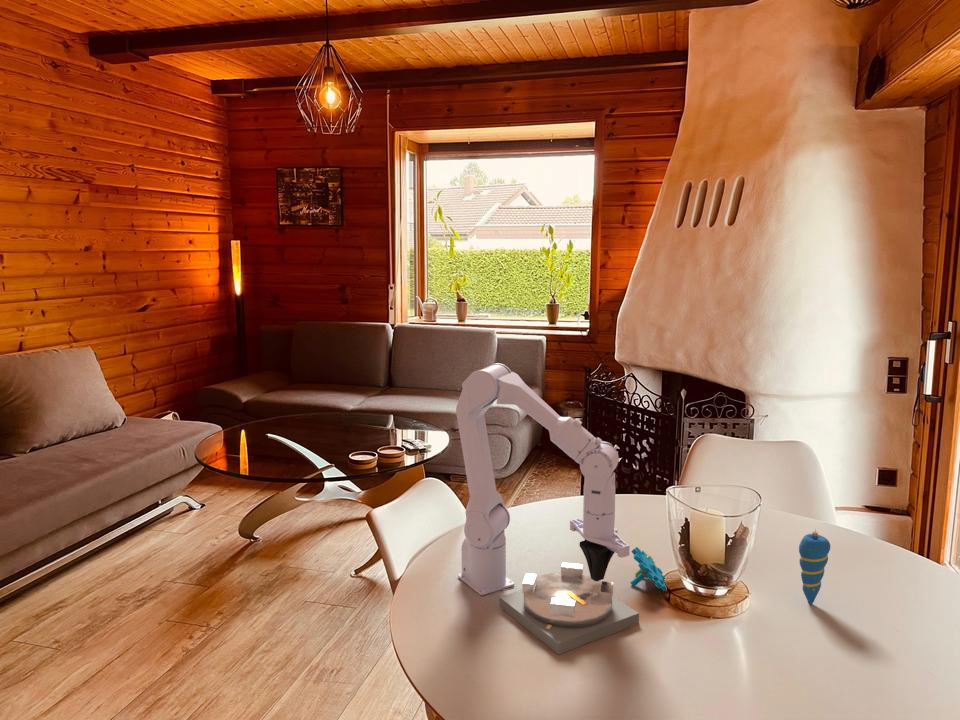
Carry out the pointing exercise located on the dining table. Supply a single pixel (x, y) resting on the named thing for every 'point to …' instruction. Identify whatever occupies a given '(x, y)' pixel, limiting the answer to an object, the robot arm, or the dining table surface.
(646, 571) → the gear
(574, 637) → the base plate
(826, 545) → the ornament
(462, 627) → the dining table surface
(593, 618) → the lugged metal disc
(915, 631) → the dining table surface
